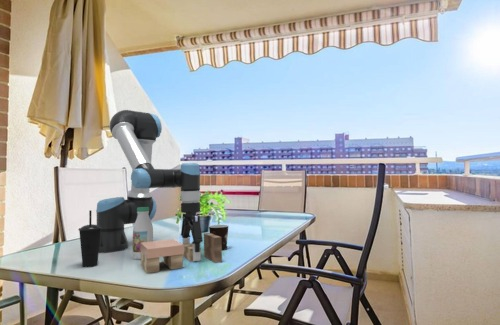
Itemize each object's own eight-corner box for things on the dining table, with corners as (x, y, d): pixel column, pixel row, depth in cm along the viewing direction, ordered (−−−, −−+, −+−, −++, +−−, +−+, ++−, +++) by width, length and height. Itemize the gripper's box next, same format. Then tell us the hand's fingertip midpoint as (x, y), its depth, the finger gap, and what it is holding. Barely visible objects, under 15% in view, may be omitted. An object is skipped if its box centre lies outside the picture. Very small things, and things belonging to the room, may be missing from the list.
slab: (140, 250, 113) (140, 242, 113) (173, 247, 119) (173, 239, 119) (147, 258, 101) (147, 249, 101) (183, 253, 106) (183, 244, 106)
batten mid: (163, 262, 115) (163, 248, 115) (174, 261, 117) (174, 247, 117) (171, 269, 105) (171, 254, 106) (182, 267, 107) (182, 253, 108)
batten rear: (141, 265, 111) (141, 251, 111) (152, 264, 113) (152, 250, 113) (146, 273, 101) (146, 257, 102) (159, 271, 103) (159, 256, 104)
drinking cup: (79, 264, 116) (80, 210, 117) (102, 262, 118) (102, 209, 120) (76, 269, 109) (77, 211, 110) (100, 266, 111) (100, 210, 113)
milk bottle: (144, 254, 130) (144, 206, 131) (157, 256, 126) (157, 206, 127) (128, 258, 123) (128, 207, 124) (141, 260, 119) (141, 208, 120)
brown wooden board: (204, 256, 123) (203, 233, 124) (209, 255, 124) (209, 233, 125) (215, 263, 113) (215, 237, 113) (221, 262, 114) (221, 237, 114)
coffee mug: (219, 246, 142) (218, 224, 143) (233, 248, 137) (232, 225, 138) (199, 251, 133) (199, 227, 134) (213, 253, 128) (213, 229, 129)
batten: (182, 256, 125) (182, 244, 126) (191, 255, 127) (191, 243, 128) (190, 262, 116) (190, 249, 116) (201, 260, 118) (200, 247, 118)
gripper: (210, 202, 114) (211, 262, 113) (190, 200, 135) (190, 250, 134) (190, 203, 111) (191, 265, 109) (173, 201, 132) (173, 252, 130)
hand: (191, 257), depth 122 cm, fingers open, 12 cm apart
